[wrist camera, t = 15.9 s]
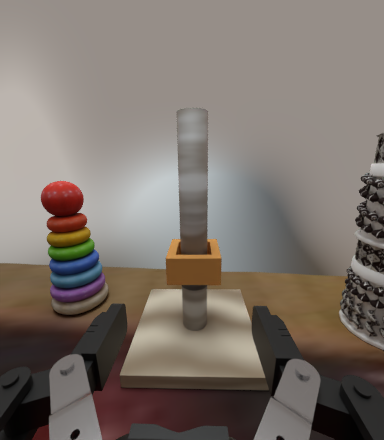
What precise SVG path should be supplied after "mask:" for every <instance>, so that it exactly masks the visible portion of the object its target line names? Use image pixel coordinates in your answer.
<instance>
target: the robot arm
mask: <svg viewBox="0 0 384 440" xmlns="http://www.w3.org/2000/svg"><path fill="white" fill-rule="evenodd" d="M126 332H127V317H126V307H125V304H111V306H110V307H109V309H108V310H107V312H102V313H101V314H100V315H98V316H97V317H96V318H95V319H94V320H93V322H92V323H91V325H90V327H89V328H88V329H87V331H86V333H85V334H84V335H83V337H82V338H81V340H80V341H79V343H78V344H77V346H76V347H75V349H74V350H73V352H72V353H71V355H68V356H66V357H64V358H62V359H60V360H59V361H58V362H57V363H56V364H55V365H54V366H53V367H52V369H49V370H46V371H42V372H38V373H35V374H31V371H30V369H29V368H27V367H18V368H15V369H12V370H10V371H8V372H7V373H5V374H4V375H2V376H1V377H0V440H32V438H33V436H34V434H35V433H36V431H37V429H38V428H39V427H42V426H45V425H48V424H49V435H50V440H102V437H101V433H100V428H99V424H98V419H97V415H96V411H95V406H94V402H93V398H92V395H93V392H94V391H102V390H103V387H104V385H105V383H106V380H107V378H108V376H109V373H110V371H111V369H112V366H113V364H114V361H115V359H116V357H117V354H118V352H119V350H120V347H121V345H122V343H123V340H124V338H125V335H126ZM252 336H253V340H254V343H255V346H256V350H257V353H258V356H259V359H260V362H261V366H262V369H263V372H264V375H265V378H266V381H267V385H268V388H269V391H270V394H271V396H272V397H271V398H270V401H269V403H268V405H267V408H266V410H265V413H264V415H263V418H262V420H261V423H260V425H259V428H258V430H257V433H256V436H255V438H254V440H309V437H310V432H311V429H312V430H314V431H317V432H319V433H322V434H324V435H327V436H329V437H332V438H334V439H335V440H384V398H383V397H382V395H381V394H380V393H379V391H378V390H377V389H376V388H375V387H374V386H373V385H372V384H370V383H369V382H367V381H366V380H364V379H362V378H360V377H357V376H354V375H347V376H344V377H343V378H342V381H341V382H340V381H337V380H333V379H330V378H327V377H324V376H322V375H320V374H318V372H317V371H316V369H315V368H314V367H313V366H312V365H310V364H309V363H307V362H306V361H304V359H303V357H302V355H301V353H300V352H299V350H298V348H297V346H296V344H295V342H294V341H293V339H292V337H291V335H290V333H289V331H288V330H287V328H286V326H285V324H284V322H283V321H282V320H281V319H280V318H279V317H278V316H277V315H271V314H270V312H269V310H268V308H267V306H254V307H253V315H252ZM273 396H274V397H273ZM116 440H235V439H234V438H231V437H229V436H228V428H227V427H226V426H201V427H198V428H195V429H191V430H188V431H185V432H181V433H177V432H174V431H171V430H169V429H166V428H163V427H161V426H158V425H156V424H132V425H131V429H130V433H129V434H126V435H124V436H122V437H120V438H118V439H116Z"/></svg>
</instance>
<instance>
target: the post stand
mask: <svg viewBox="0 0 384 440" xmlns="http://www.w3.org/2000/svg"><path fill="white" fill-rule="evenodd" d="M177 138H178V139H177V140H178V171H179V201H180V202H179V206H180V237H181V255H207V186H208V184H207V183H208V182H207V181H208V179H207V176H208V173H207V172H208V169H207V168H208V166H207V165H208V164H207V163H208V111H207V110H205V109H201V108H185V109H180V110H178V111H177ZM120 382H121V387H124V388H176V389H228V390H269V388H268V385H267V381H266V378H265V375H264V372H263V369H262V366H261V362H260V359H259V356H258V353H257V350H256V346H255V343H254V340H253V336H252V324H251V321H250V318H249V315H248V312H247V309H246V306H245V303H244V300H243V297H242V294H241V291H240V290H218V289H207V285H182V289H152V290H151V293H150V295H149V298H148V301H147V304H146V306H145V309H144V312H143V314H142V317H141V320H140V322H139V325H138V328H137V330H136V333H135V336H134V338H133V341H132V344H131V346H130V349H129V352H128V354H127V357H126V360H125V362H124V365H123V368H122V370H121V373H120Z"/></svg>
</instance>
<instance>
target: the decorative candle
mask: <svg viewBox="0 0 384 440" xmlns="http://www.w3.org/2000/svg"><path fill="white" fill-rule="evenodd" d="M377 136H378V137H379V140H378V145H377V149H376V154H375V160H374V163H372V164H371V169H370V173H366V174H365V175H364V176H362V177H361V181H363V182H364V183H365V184H367V185H366V186H364V187H363V188H362V189H360V190H359V193H360V195H361V196H362V197H364V198H365V199H368V201H367V200H366V201H364V202H362V203H360V205H359V206H358V207H357V210H358V211H359V213H360V215H359V217H357V218H356V219H355V221H356V224H357V226H359V227H361V229H358V230H357V231H356V232H355V236H356V238H357V239H358V243H357V248H356V254H355V255H354V256H353V259H352V264H351V266H350V268H348V269H347V273H348V279H346V280H345V283H346V289H344V290H343V292H342V296H343V299H342V300H341V302H340V305H341V310H340V311H339V316H340V319H341V322H342V323H343V324H344V325H345V327H346V328H347V329H348V330H349V331H350V332H351V333H353V334H354V335H356V336H357V337H359V338H360V339H361V340H363V341H364V342H367V343H369V344H371V345H373V346H375V347H377V348H379V349H381V350H384V133H383V134H380V135H377Z"/></svg>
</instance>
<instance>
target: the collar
mask: <svg viewBox="0 0 384 440" xmlns="http://www.w3.org/2000/svg"><path fill="white" fill-rule="evenodd" d="M166 274H167V285H221V255H220V251H219V247H218V243H217V239H207V255H181V239H173V240H172V242H171V245H170V248H169V251H168V254H167V256H166Z"/></svg>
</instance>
